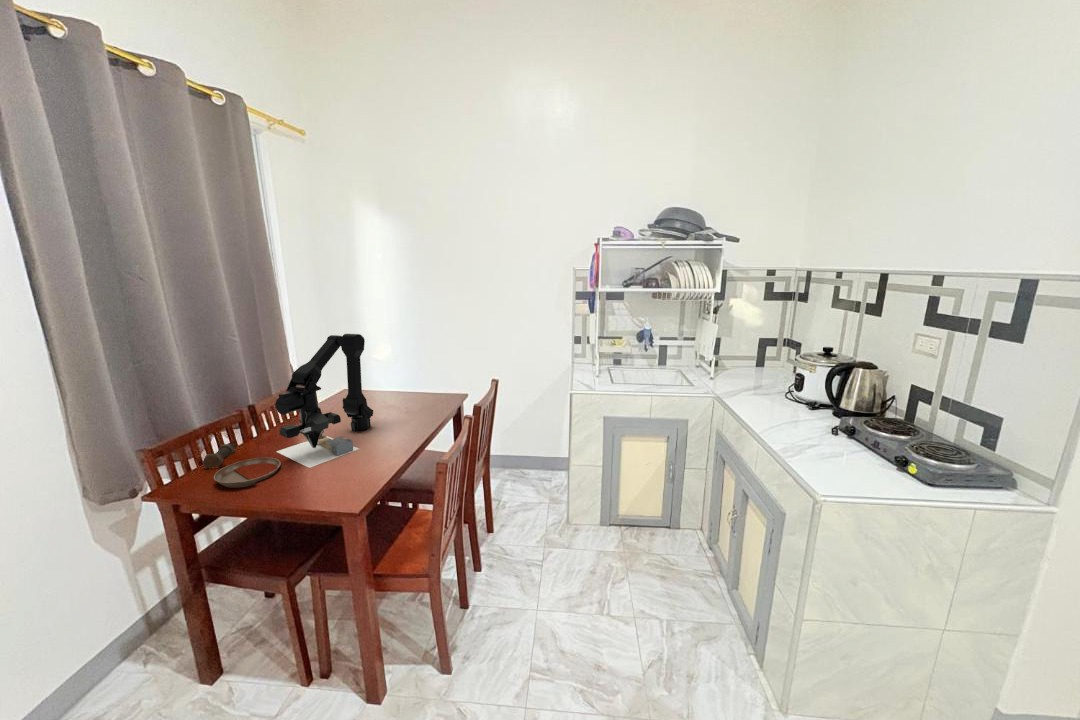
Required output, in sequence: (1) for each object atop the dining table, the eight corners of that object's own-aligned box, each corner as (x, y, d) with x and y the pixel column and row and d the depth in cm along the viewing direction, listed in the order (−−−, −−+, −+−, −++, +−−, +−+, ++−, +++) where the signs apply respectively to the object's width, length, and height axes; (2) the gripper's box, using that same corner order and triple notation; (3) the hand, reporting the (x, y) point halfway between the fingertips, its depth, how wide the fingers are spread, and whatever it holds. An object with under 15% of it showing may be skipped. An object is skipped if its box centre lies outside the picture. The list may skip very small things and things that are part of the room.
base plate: (325, 437, 170) (325, 435, 170) (359, 451, 157) (359, 448, 156) (276, 454, 155) (276, 451, 155) (309, 470, 142) (309, 467, 142)
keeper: (342, 445, 159) (341, 436, 158) (353, 450, 155) (352, 440, 154) (326, 451, 154) (325, 441, 154) (337, 456, 150) (336, 446, 150)
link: (311, 442, 162) (310, 431, 161) (323, 439, 165) (321, 427, 164) (332, 452, 153) (331, 440, 152) (344, 447, 157) (343, 436, 156)
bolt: (235, 455, 159) (216, 472, 145) (221, 450, 158) (199, 467, 144) (242, 441, 159) (223, 457, 145) (228, 436, 158) (207, 451, 143)
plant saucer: (283, 460, 151) (281, 452, 150) (279, 483, 135) (278, 473, 134) (221, 472, 143) (219, 463, 142) (210, 497, 127) (208, 487, 127)
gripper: (292, 417, 138) (298, 463, 142) (346, 402, 153) (351, 443, 156) (275, 411, 145) (282, 455, 148) (329, 397, 159) (334, 437, 163)
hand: (314, 447), depth 154 cm, fingers closed
